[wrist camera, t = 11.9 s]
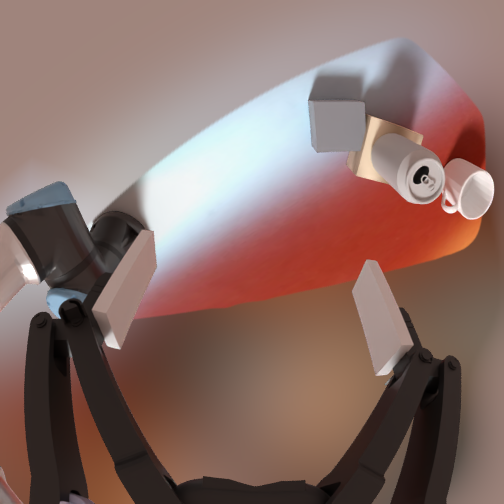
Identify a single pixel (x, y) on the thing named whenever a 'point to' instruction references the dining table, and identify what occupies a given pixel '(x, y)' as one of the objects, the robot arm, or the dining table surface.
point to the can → (408, 168)
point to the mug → (467, 189)
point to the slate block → (337, 125)
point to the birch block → (374, 130)
